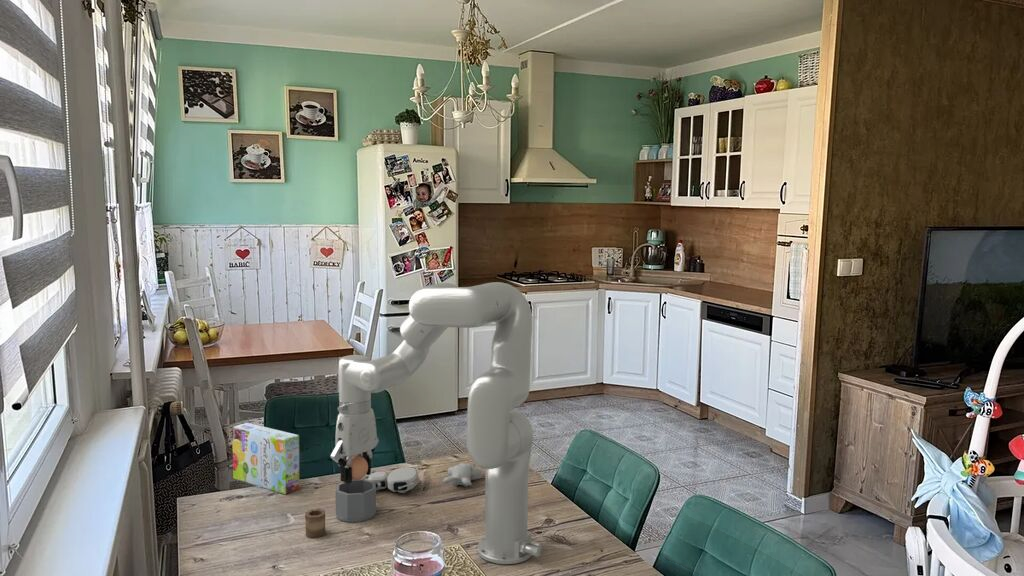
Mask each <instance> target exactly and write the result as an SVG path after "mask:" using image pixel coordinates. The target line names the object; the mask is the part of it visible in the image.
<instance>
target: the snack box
mask: <svg viewBox="0 0 1024 576" xmlns="http://www.w3.org/2000/svg"><path fill="white" fill-rule="evenodd" d="M231 428H232V429H231V430H232V432H231V434H232V436H231V437H232V474H233V475H232V477H233V478H232V479H234V480H238V481H240V482H244V483H248V484H251V485H253V486H257V487H260V488H263V489H266V490H269V491H270V490H271V491H272V492H276V493H280V494H282V495H287V494H289V493H292V492H295V491H297V490H300V435H299V434H295V433H291V432H287V431H284V430H279V429H275V428H271V427H267V426H263V425H259V424H254V423H250V422H245V423H240V424H238V425H235V426H232V427H231Z"/></svg>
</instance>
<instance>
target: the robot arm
mask: <svg viewBox="0 0 1024 576" xmlns="http://www.w3.org/2000/svg"><path fill="white" fill-rule="evenodd" d="M408 311H409V314H408V315H407V316H406V318H404V320H403V321H402V322H401V324H400V326H399V332H400V335H401V337H402V339H403V341H402V342H401V343H400V344H399V345H398V346H397V348H396V349H394V351H393V352H392V353H390V354H388V355H384V356H382V357H379V358H376V359H375V358H374V359H371V360H370V358H369V357H368V356H366V355H364V354H363V355H362V354H349V355H345V356H342V357H341V358H340V359H339V361H338V401H339V402H338V404H339V405H338V406H337V408H336V409H337V412H339V413H338V414H337V417H336V425H335V435H334V436H335V438H334V439H335V441H334V443H335V447H334V448H333V450H332V452H331V453H330V455H329V456H330V458H331V459H332V460H333V461H334V462H335V463H336V464H337V465H338V467H340V481H341V483H342V482H345V483H349V484H350V483H351V482H352V468H351V467H349V466H350V462H351V458H352V457H353V456H356V455H358V456H361V457H363V458H364V459H365V460H366V461H367V463H368V471H367V473H366V475H365V476H367V475H370V474H371V473H372V468H371V467H372V465H371V464H372V460H371V459H372V458H373V456H374V455H373V453H374V452H375V450H376V447H377V445H378V444H379V442H380V440H379V438H378V435H377V433H378V432H377V423H376V417H375V412H374V409H373V408H372V401H371V400H372V399H371V397H372V395H371V394H374V393H375V394H376V393H377V394H378V393H380V392H383V391H386V390H388V389H390V388H392V387H395V386H399V385H401V384H403V383H404V382H406V381H407V380H409V378H410V377H411V376H413V374H414V373H415V372H416V371H417V370H418V369H419V368H420V367H421V366H422V365H423V363H424V362H425V360H426V359H427V356H428V354H429V352H430V348H431V347H432V346H433V344H434V343H435V342H436V341H437V340H439V338H440V337H441V336H442V335H443V334H444V332H446V330H447V329H448V328H463V329H464V328H470V329H471V328H479V327H483V326H486V325H489V324H492V323H493V324H494V323H495V331H494V333H493V338H492V342H491V356H490V357H491V358H490V367H489V369H488V370H487V371H484V372H483V373H481V374H480V375H478V376H476V378H475V379H474V380H473V382H472V383H471V386H470V389H469V392H468V396H467V412H466V414H467V417H466V419H467V420H466V448H467V449H466V450H467V452H468V454H469V457H470V459H471V460H472V462H473V464H475V466H476V465H477V466H478V467H479V468H481V469H482V470H483V469H484V470H485V475H484V476H485V477H484V479H485V482H484V485H485V486H484V537H483V538H482V539H481V540H480V541H479V542H478V543H477V554H478V555H479V556H480V557H481V558H482V559H483V560H485V561H487V562H489V563H493V564H499V565H515V564H521V563H523V562H526V561H527V560H529V559H530V558H531V557H532V556H533V557H535V558H536V557H538V558H539V557H540V555H541V554H542V545H543V544H542V543H541V542H539V541H534V540H533V537H532V536H533V535H532V534H533V533H532V531H531V532H530V531H528V518H529V516H528V514H529V513H528V511H529V478H530V477H529V476H530V474H529V473H530V461H531V453H532V449H533V448H532V447H533V438H534V433H533V432H534V431H533V428H532V424H531V421H530V420H529V418H528V417H527V416H526V415H525V414H523V413H522V412H520V411H517V410H515V409H516V408H517V407H519V406H520V405H522V404H523V403H525V402H526V400H527V398H528V397H529V394H530V385H531V383H530V382H531V362H532V361H531V360H532V359H531V358H532V355H531V354H532V352H531V349H532V337H533V334H532V333H533V316H532V315H533V314H532V310H531V306H530V304H529V301H528V299H527V298H526V296H525V295H524V294H523V293H522V292H521V291H520V290H519V289H518V288H516V287H515V286H513V285H511V284H509V283H505V282H501V281H500V282H499V281H496V282H493V281H492V282H487V283H486V282H485V283H482V284H478V285H473V286H461V287H459V286H457V285H456V284H453V283H449V282H440V283H434V284H428V285H424V286H421V287H419V288H418V289H417V290H415V291H414V292H413V294H412V295H411V297H410V298H409V302H408ZM345 457H346V458H345Z"/></svg>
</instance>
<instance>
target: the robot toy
mask: <svg viewBox="0 0 1024 576" xmlns="http://www.w3.org/2000/svg"><path fill="white" fill-rule="evenodd" d="M419 468H420V466H416V467H398V468H395V469H394V470H392V471H391V472H390V473H388V472H386V471H371V474H370V475H365V477H363V479H366V480H369V481H373V482H375V483H376V492H377V491H380V490H383V489H386V488H387V489H388V490H390V491H392V492H393V493H394V492H395V493H396V492H398V493H400V494H405V493H407V492H409V491H411V490H413V489H414V488H415V487H416V486H417V485H418V484H419V482H420V481H419V471H418V470H417V469H419Z"/></svg>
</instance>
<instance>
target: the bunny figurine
mask: <svg viewBox="0 0 1024 576" xmlns="http://www.w3.org/2000/svg"><path fill="white" fill-rule="evenodd" d="M447 471H448V476H446V477H444V478H443V480H442V484H449V483H451V484H452V485H454V486H455V487H458V486H459V485H460V486H464V487H465V488H466V487H467V488H468V486H472V481H474V480H475V481H476V480H477V479H482V475H483V469H482V468H481V469H480V468H478V467H476V464H475V463H465V462H463V463H462V462H460V463H459V464H457V465H454V466H450V467H448V470H447Z"/></svg>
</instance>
